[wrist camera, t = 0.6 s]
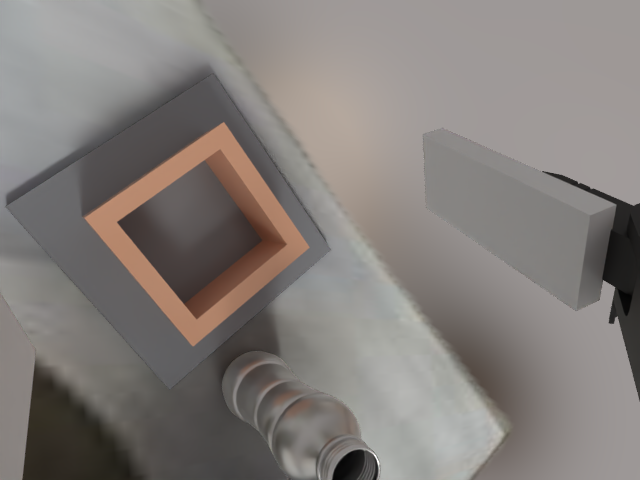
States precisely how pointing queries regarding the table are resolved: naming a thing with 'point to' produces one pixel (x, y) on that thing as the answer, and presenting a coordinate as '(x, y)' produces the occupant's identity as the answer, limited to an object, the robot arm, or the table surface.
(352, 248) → the table surface
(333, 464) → the silver bottle
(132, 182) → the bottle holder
